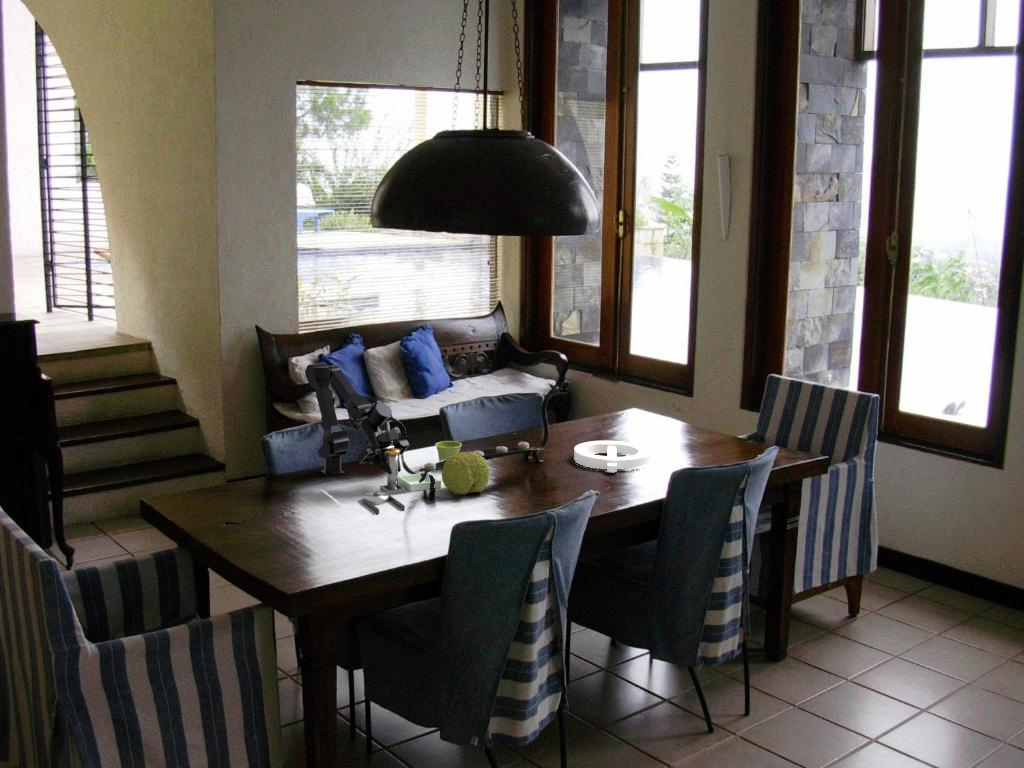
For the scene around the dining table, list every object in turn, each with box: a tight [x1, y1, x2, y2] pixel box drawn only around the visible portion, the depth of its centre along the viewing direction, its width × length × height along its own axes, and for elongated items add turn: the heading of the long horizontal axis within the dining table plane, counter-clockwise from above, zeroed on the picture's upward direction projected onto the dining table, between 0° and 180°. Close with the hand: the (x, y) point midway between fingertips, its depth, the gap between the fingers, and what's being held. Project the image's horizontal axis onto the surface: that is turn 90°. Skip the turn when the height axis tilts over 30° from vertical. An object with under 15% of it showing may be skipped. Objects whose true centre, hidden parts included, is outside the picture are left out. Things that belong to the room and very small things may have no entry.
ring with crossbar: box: [573, 440, 651, 473], centre depth 418 cm, size 28×28×5 cm
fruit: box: [441, 451, 491, 495], centre depth 374 cm, size 16×14×15 cm
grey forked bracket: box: [362, 491, 406, 516], centre depth 359 cm, size 16×9×3 cm, turn 29°
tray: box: [398, 473, 442, 493], centre depth 380 cm, size 11×11×3 cm
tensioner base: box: [375, 484, 411, 497], centre depth 373 cm, size 9×9×2 cm
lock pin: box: [385, 448, 400, 490], centre depth 372 cm, size 5×5×14 cm
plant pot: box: [435, 440, 462, 462], centre depth 404 cm, size 9×9×9 cm
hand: (395, 472), depth 371 cm, fingers closed on lock pin, 4 cm apart
